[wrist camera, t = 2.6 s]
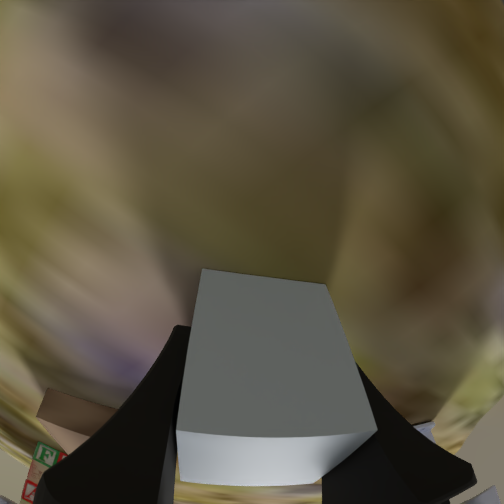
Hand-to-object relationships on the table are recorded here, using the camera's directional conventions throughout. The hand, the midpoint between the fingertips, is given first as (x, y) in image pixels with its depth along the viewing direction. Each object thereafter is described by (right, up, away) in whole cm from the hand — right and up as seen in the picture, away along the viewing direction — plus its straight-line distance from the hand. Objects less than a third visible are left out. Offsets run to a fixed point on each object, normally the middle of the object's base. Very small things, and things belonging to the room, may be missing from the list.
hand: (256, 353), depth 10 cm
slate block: (0, +1, +1) cm, 2 cm away
